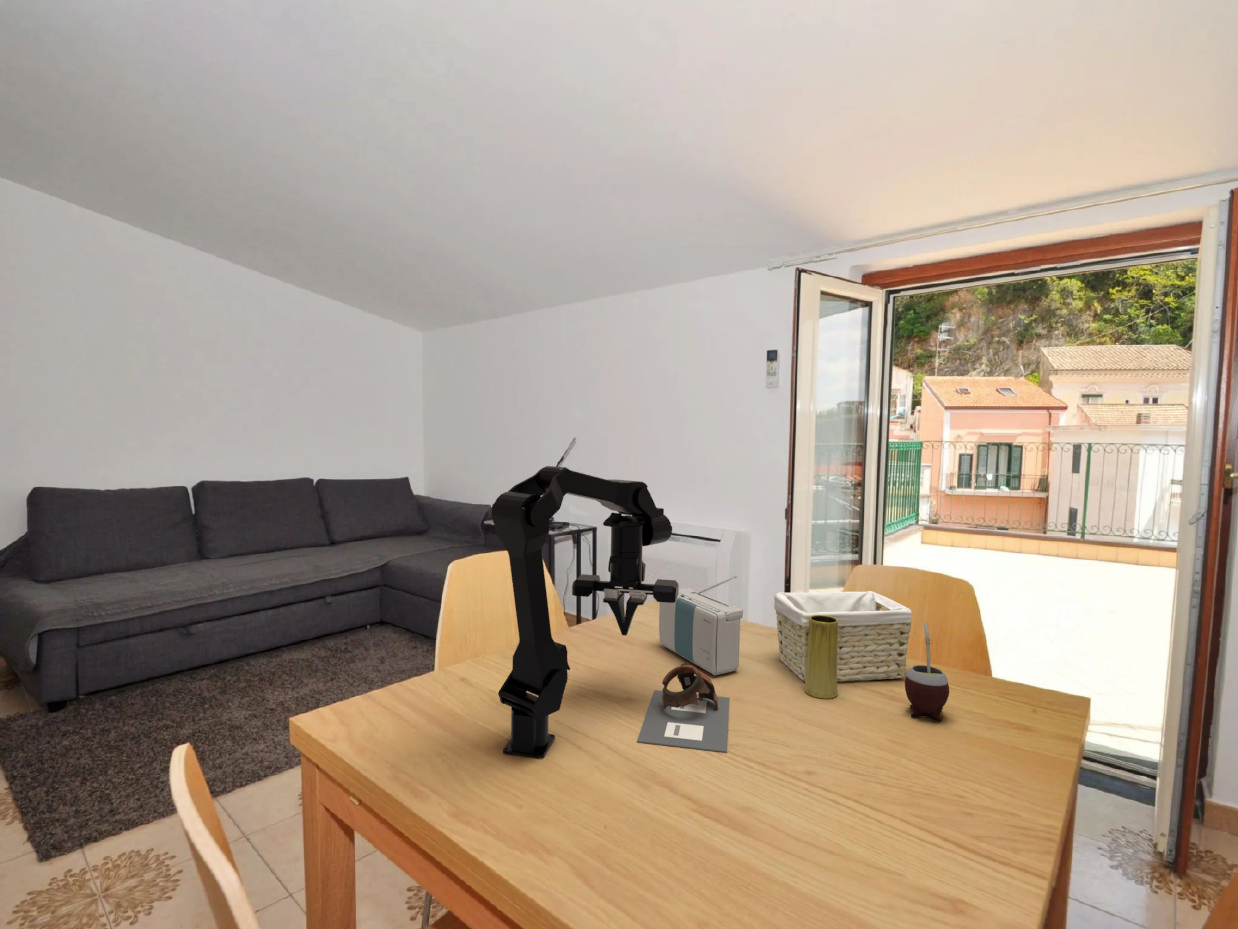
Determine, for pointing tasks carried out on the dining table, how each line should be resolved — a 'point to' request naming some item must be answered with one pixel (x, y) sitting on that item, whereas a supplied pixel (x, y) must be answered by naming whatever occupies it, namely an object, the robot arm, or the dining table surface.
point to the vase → (822, 657)
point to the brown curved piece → (688, 687)
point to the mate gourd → (926, 688)
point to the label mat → (687, 724)
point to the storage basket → (847, 632)
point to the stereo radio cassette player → (702, 630)
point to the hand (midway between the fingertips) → (624, 634)
